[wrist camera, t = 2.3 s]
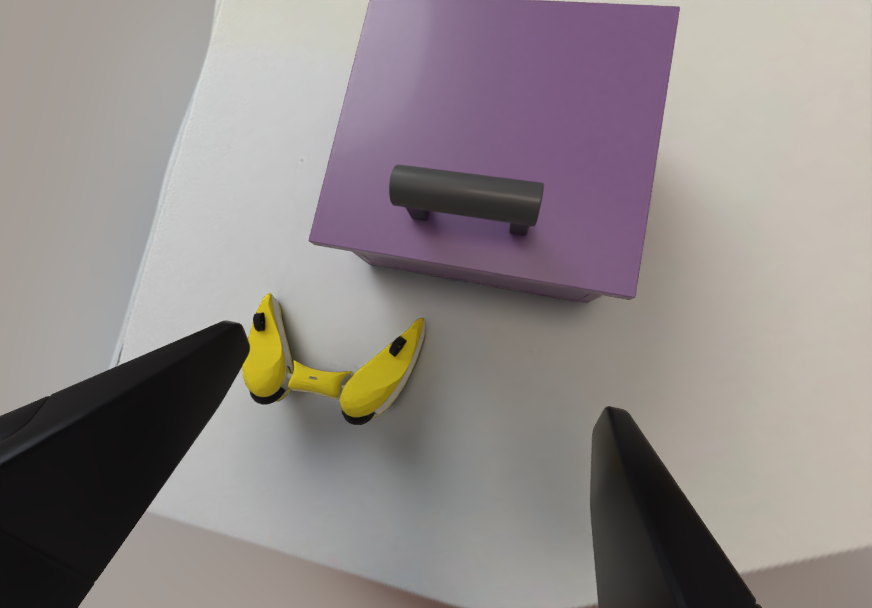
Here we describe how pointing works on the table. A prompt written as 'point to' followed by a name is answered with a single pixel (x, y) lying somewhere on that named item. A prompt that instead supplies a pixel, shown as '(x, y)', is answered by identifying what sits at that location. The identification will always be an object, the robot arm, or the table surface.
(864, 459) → the table surface
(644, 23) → the lid
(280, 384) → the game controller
